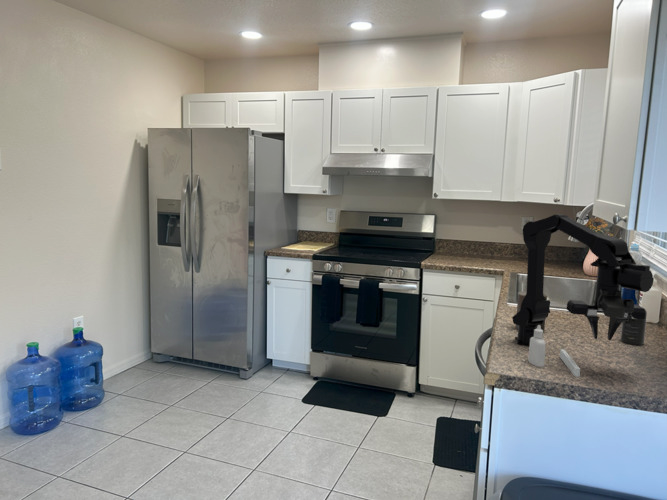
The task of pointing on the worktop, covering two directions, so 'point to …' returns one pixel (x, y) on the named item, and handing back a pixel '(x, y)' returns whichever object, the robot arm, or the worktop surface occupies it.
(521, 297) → the pillar candle
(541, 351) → the eye dropper bottle
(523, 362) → the worktop surface
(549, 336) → the worktop surface
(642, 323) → the supplement bottle
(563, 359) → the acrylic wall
